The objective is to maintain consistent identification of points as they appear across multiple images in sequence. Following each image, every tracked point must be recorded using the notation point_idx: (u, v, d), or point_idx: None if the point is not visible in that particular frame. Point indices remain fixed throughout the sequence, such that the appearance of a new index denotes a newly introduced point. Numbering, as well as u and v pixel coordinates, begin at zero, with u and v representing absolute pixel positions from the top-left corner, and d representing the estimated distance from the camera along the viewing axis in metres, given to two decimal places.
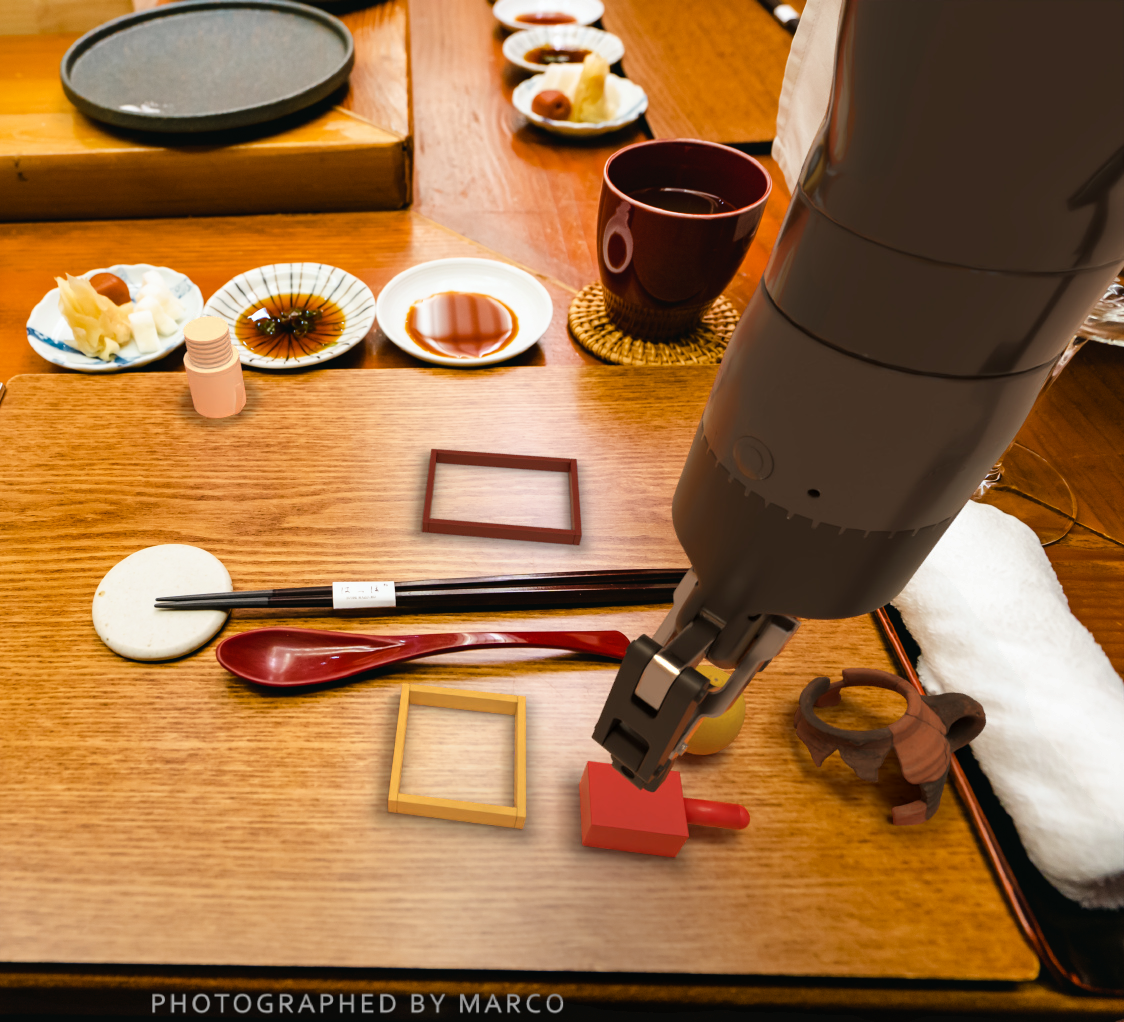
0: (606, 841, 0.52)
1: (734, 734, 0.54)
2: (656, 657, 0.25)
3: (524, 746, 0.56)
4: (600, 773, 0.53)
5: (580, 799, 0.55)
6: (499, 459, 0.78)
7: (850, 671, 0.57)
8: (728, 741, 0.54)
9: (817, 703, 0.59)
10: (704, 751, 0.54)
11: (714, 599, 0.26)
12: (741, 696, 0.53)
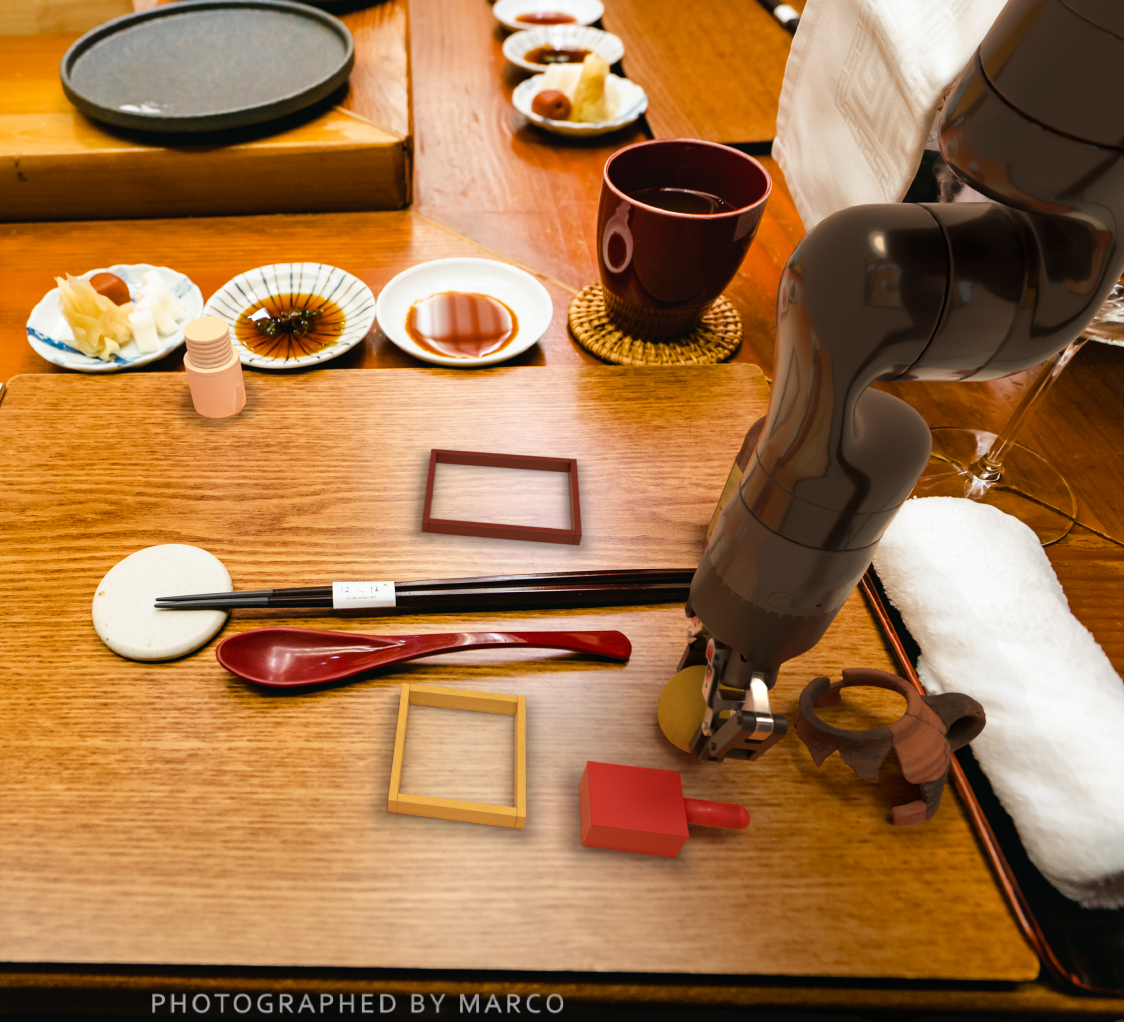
0: (606, 841, 0.52)
1: None
2: (758, 722, 0.44)
3: (524, 746, 0.56)
4: (600, 772, 0.53)
5: (580, 799, 0.55)
6: (499, 459, 0.78)
7: (850, 671, 0.57)
8: None
9: (817, 703, 0.59)
10: None
11: (761, 665, 0.45)
12: None
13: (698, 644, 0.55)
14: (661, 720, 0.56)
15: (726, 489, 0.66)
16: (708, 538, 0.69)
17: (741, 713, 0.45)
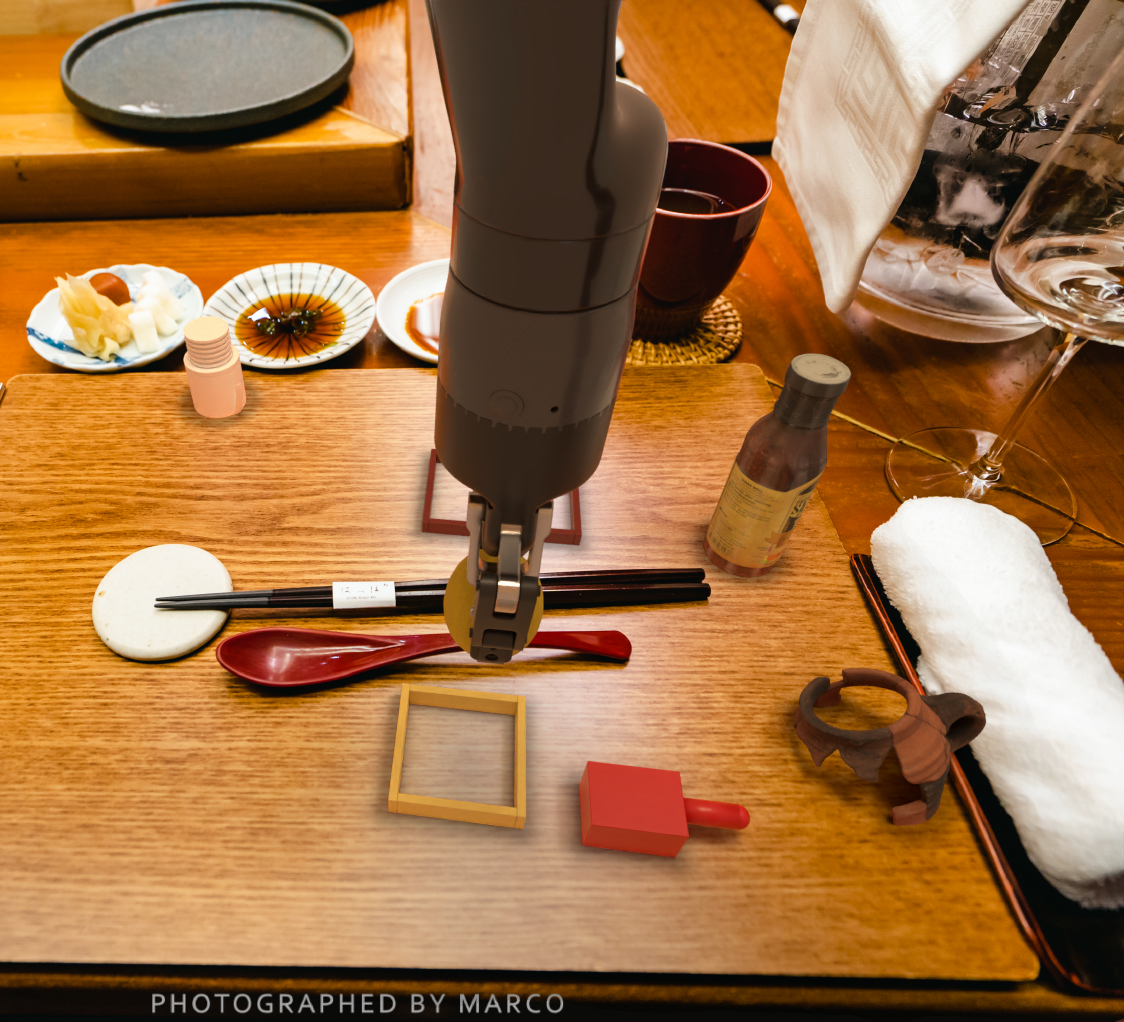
0: (606, 841, 0.52)
1: None
2: (499, 585, 0.33)
3: (524, 746, 0.56)
4: (600, 773, 0.53)
5: (580, 799, 0.55)
6: None
7: (850, 671, 0.57)
8: None
9: (817, 703, 0.59)
10: None
11: (509, 511, 0.34)
12: None
13: None
14: (445, 618, 0.45)
15: (726, 489, 0.66)
16: (708, 538, 0.69)
17: (480, 574, 0.34)
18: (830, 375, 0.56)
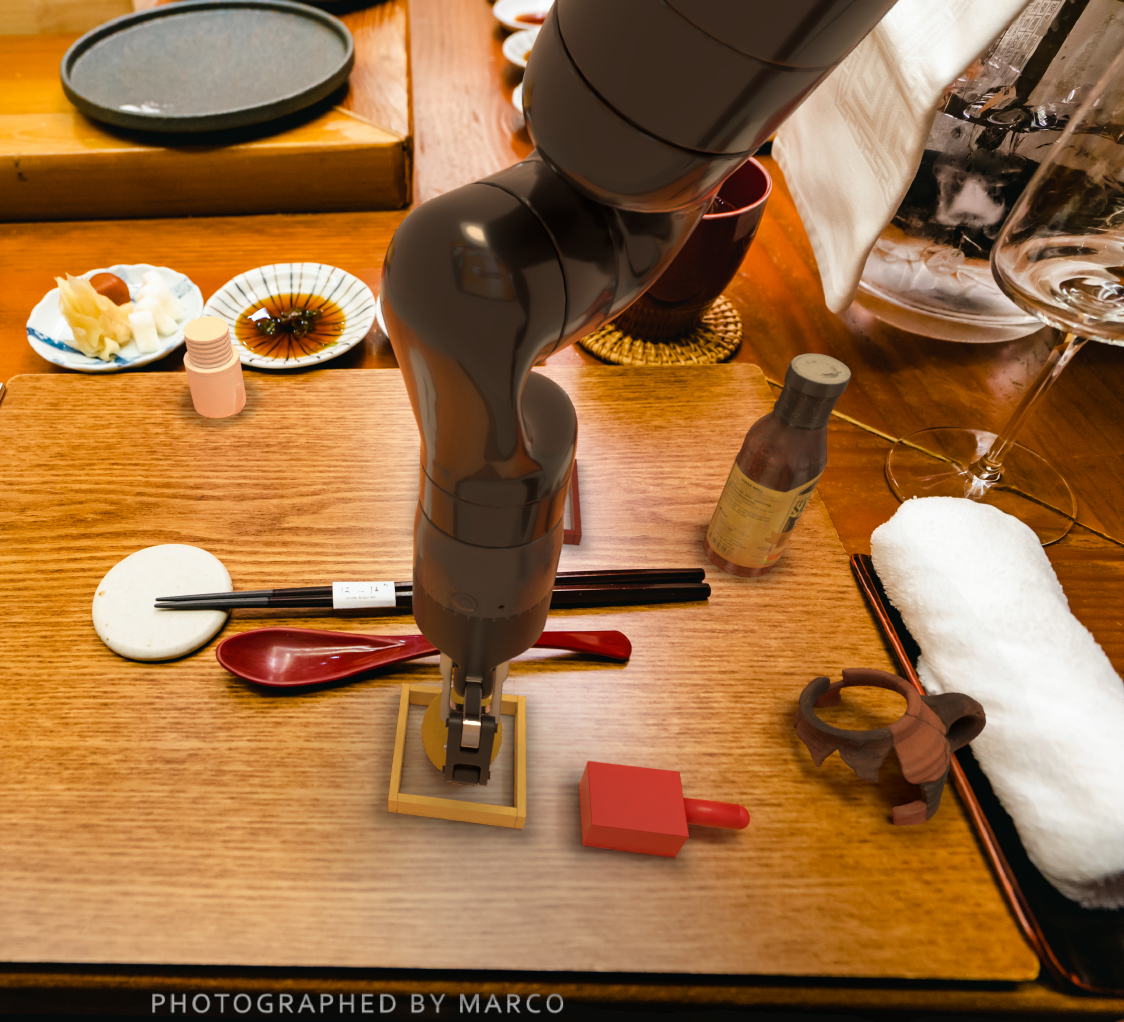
0: (606, 841, 0.52)
1: None
2: (464, 722, 0.41)
3: (524, 746, 0.56)
4: (600, 773, 0.53)
5: (580, 799, 0.55)
6: None
7: (850, 671, 0.57)
8: None
9: (817, 703, 0.59)
10: None
11: (471, 670, 0.43)
12: None
13: None
14: (422, 742, 0.55)
15: (726, 489, 0.66)
16: (708, 538, 0.69)
17: (449, 713, 0.42)
18: (830, 375, 0.56)
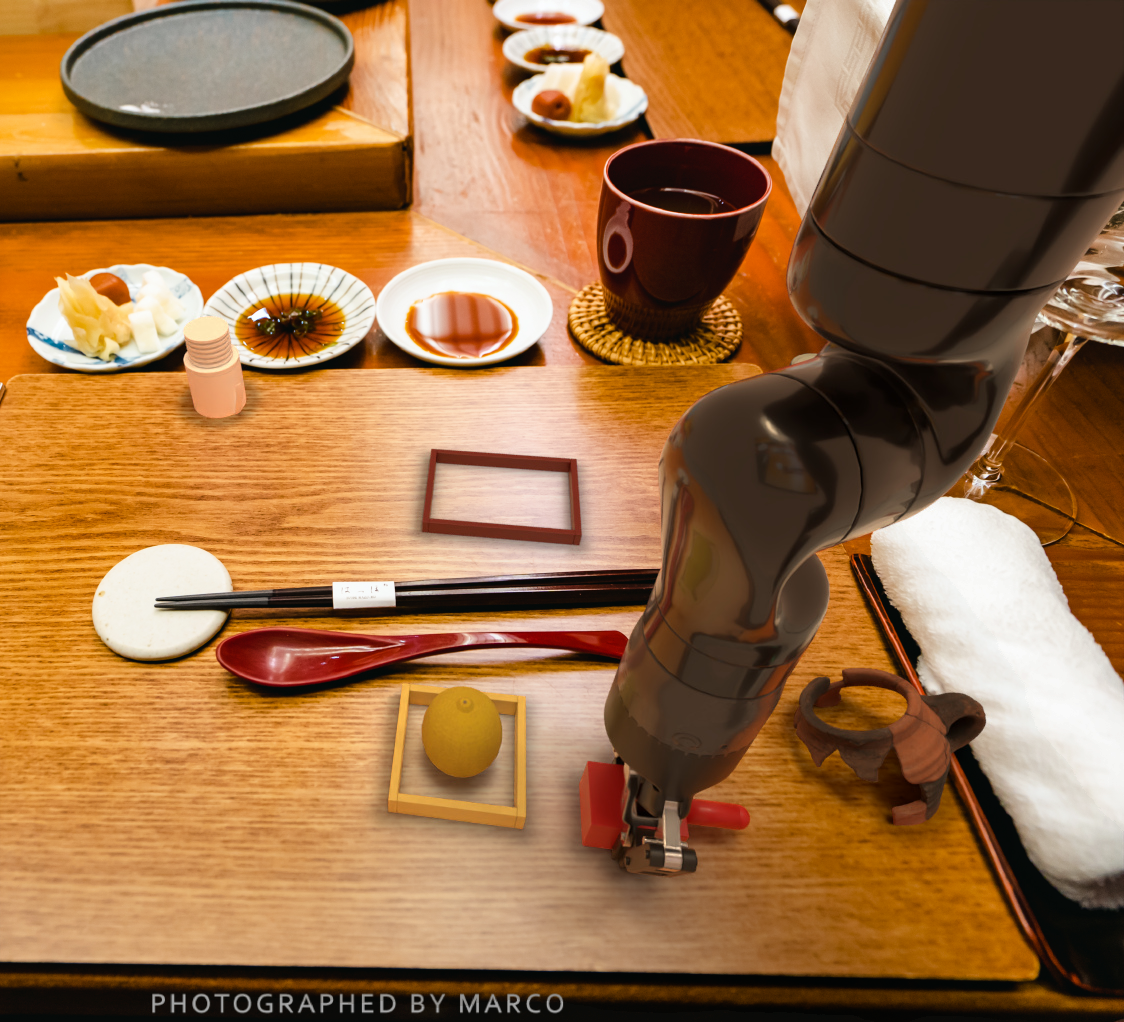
0: (606, 841, 0.52)
1: (486, 757, 0.52)
2: (666, 859, 0.43)
3: (524, 746, 0.56)
4: (600, 773, 0.53)
5: (580, 799, 0.55)
6: (499, 459, 0.78)
7: (850, 671, 0.57)
8: (481, 764, 0.53)
9: (817, 703, 0.59)
10: (460, 774, 0.53)
11: (672, 795, 0.43)
12: (493, 719, 0.52)
13: None
14: None
15: None
16: None
17: (650, 848, 0.43)
18: None
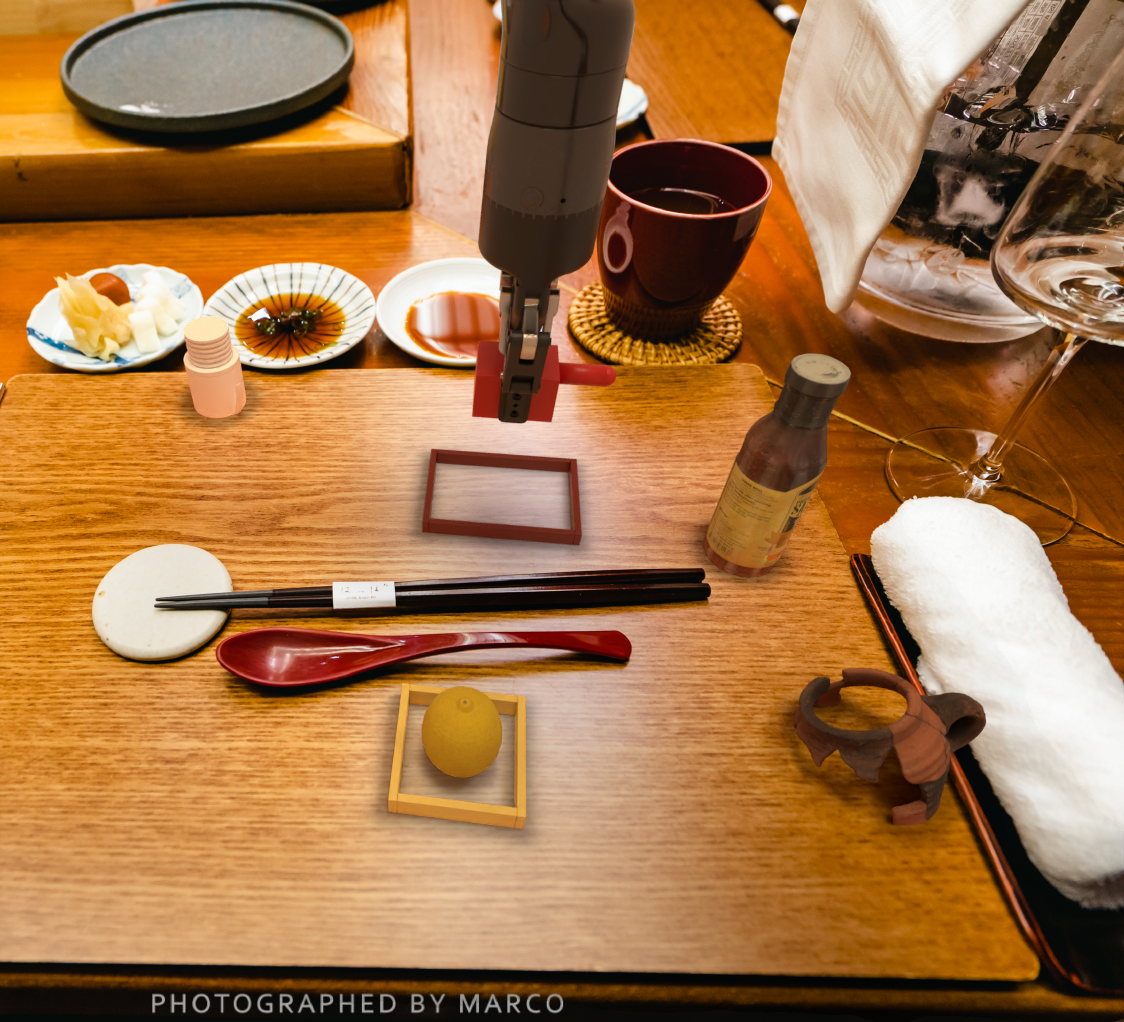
0: (492, 399, 0.59)
1: (486, 757, 0.52)
2: (524, 337, 0.50)
3: (524, 746, 0.56)
4: (489, 346, 0.60)
5: (474, 383, 0.62)
6: (499, 459, 0.78)
7: (850, 671, 0.57)
8: (481, 764, 0.53)
9: (817, 703, 0.59)
10: (460, 774, 0.53)
11: (531, 286, 0.50)
12: (493, 719, 0.52)
13: (510, 335, 0.60)
14: None
15: (726, 489, 0.66)
16: (708, 538, 0.69)
17: (511, 331, 0.50)
18: (830, 375, 0.56)
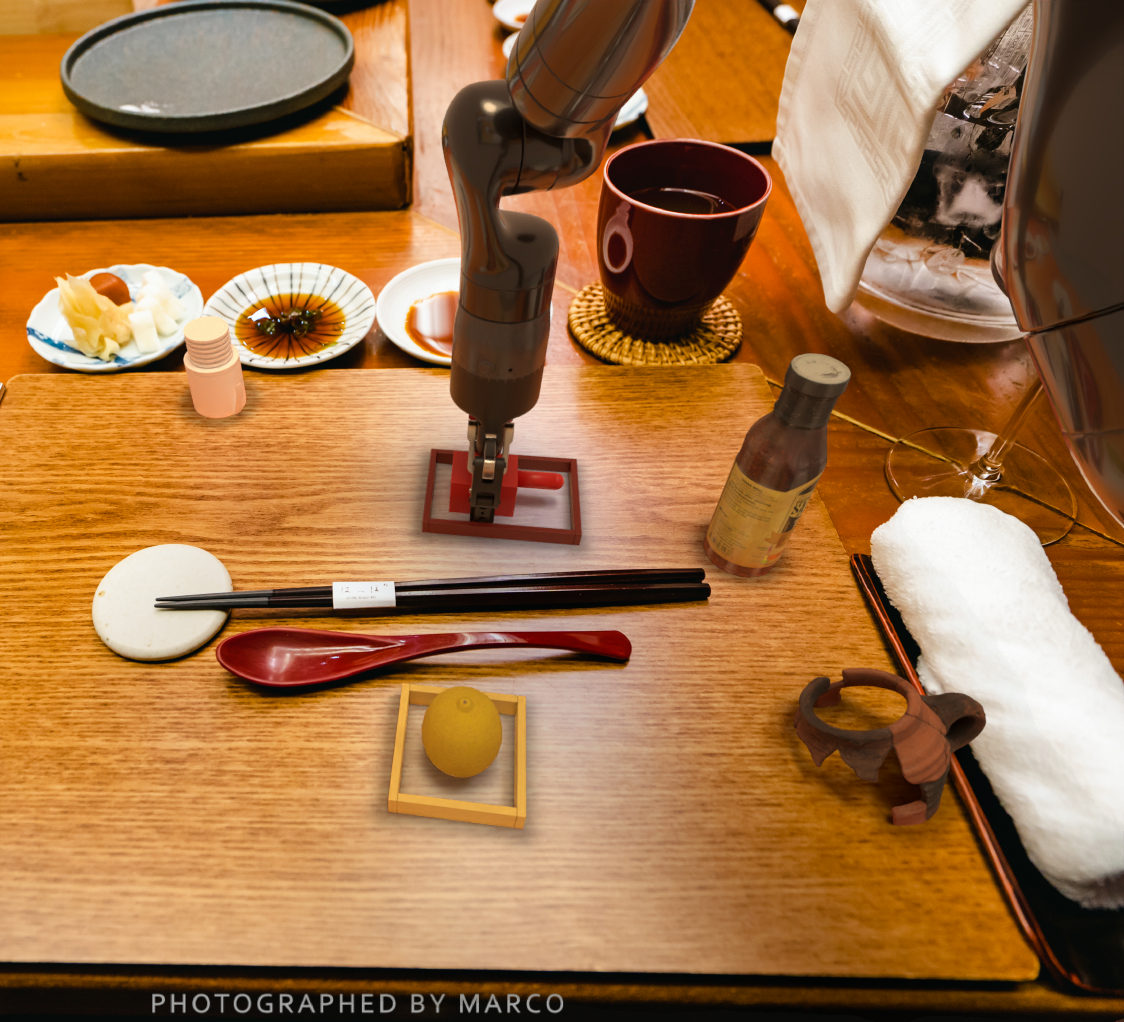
0: (464, 500, 0.73)
1: (486, 757, 0.52)
2: (484, 461, 0.64)
3: (524, 746, 0.56)
4: (462, 456, 0.74)
5: None
6: None
7: (850, 671, 0.57)
8: (481, 764, 0.53)
9: (817, 703, 0.59)
10: (460, 774, 0.53)
11: (489, 426, 0.65)
12: (493, 719, 0.52)
13: None
14: None
15: (726, 489, 0.66)
16: (708, 538, 0.69)
17: (475, 456, 0.64)
18: (830, 375, 0.56)
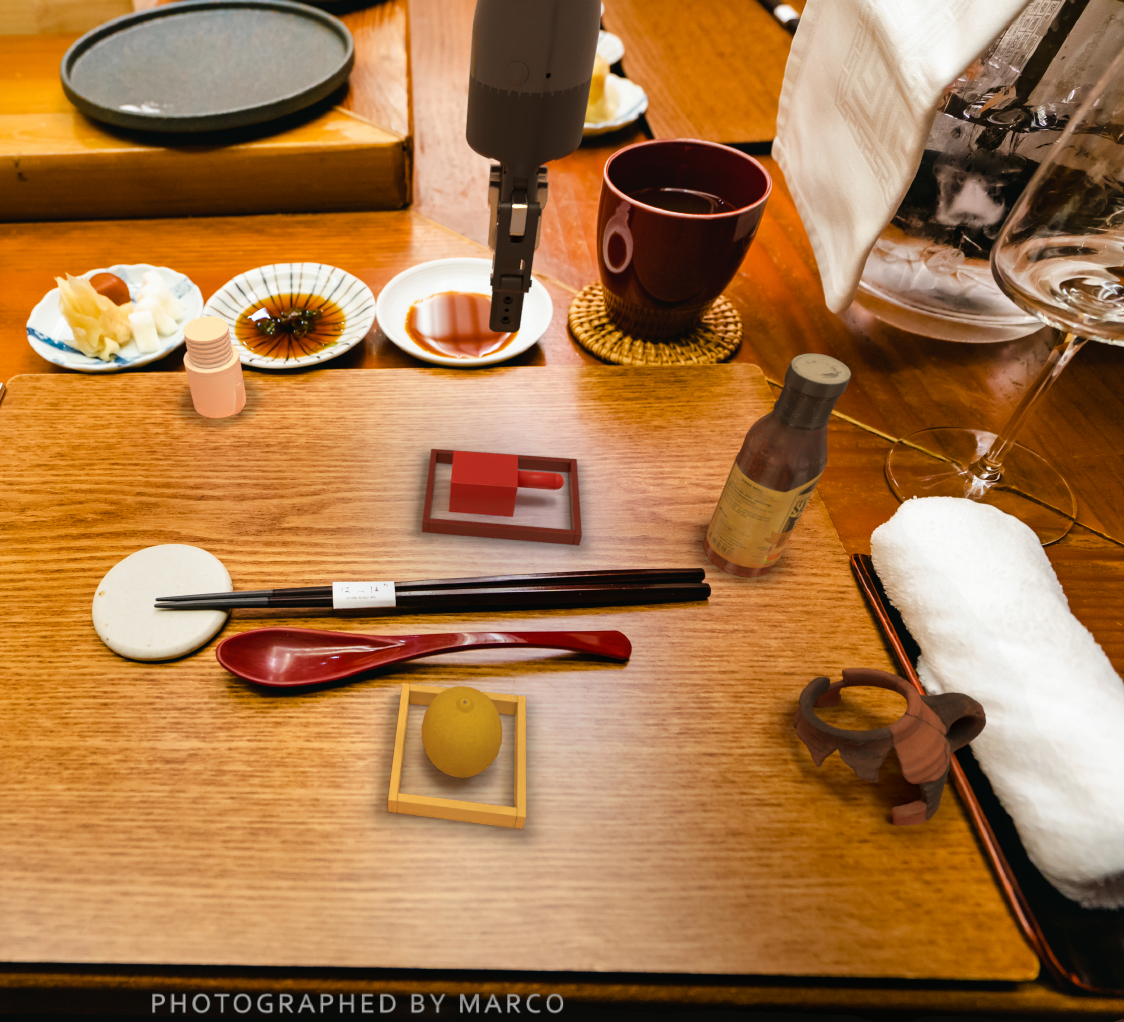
0: (464, 500, 0.73)
1: (486, 757, 0.52)
2: (513, 203, 0.49)
3: (524, 746, 0.56)
4: (462, 456, 0.74)
5: None
6: None
7: (850, 671, 0.57)
8: (481, 764, 0.53)
9: (817, 703, 0.59)
10: (460, 774, 0.53)
11: (518, 172, 0.50)
12: (493, 719, 0.52)
13: None
14: None
15: (726, 489, 0.66)
16: (708, 538, 0.69)
17: None
18: (830, 375, 0.56)
